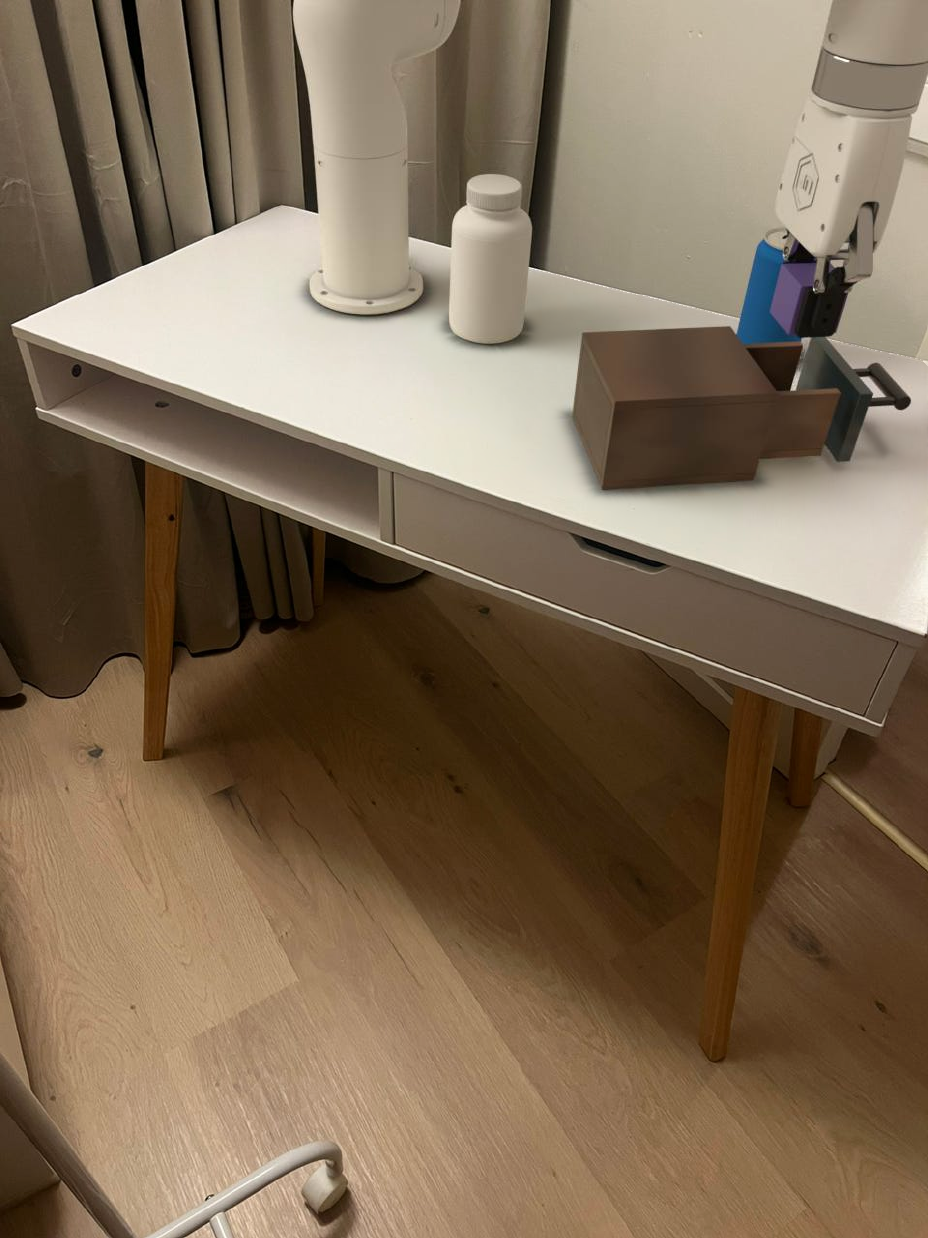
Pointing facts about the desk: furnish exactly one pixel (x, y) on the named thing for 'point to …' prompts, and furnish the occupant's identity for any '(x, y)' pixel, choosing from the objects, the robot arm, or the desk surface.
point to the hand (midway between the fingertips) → (802, 319)
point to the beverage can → (764, 293)
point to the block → (793, 294)
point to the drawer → (819, 399)
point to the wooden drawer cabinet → (671, 406)
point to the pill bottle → (490, 261)
